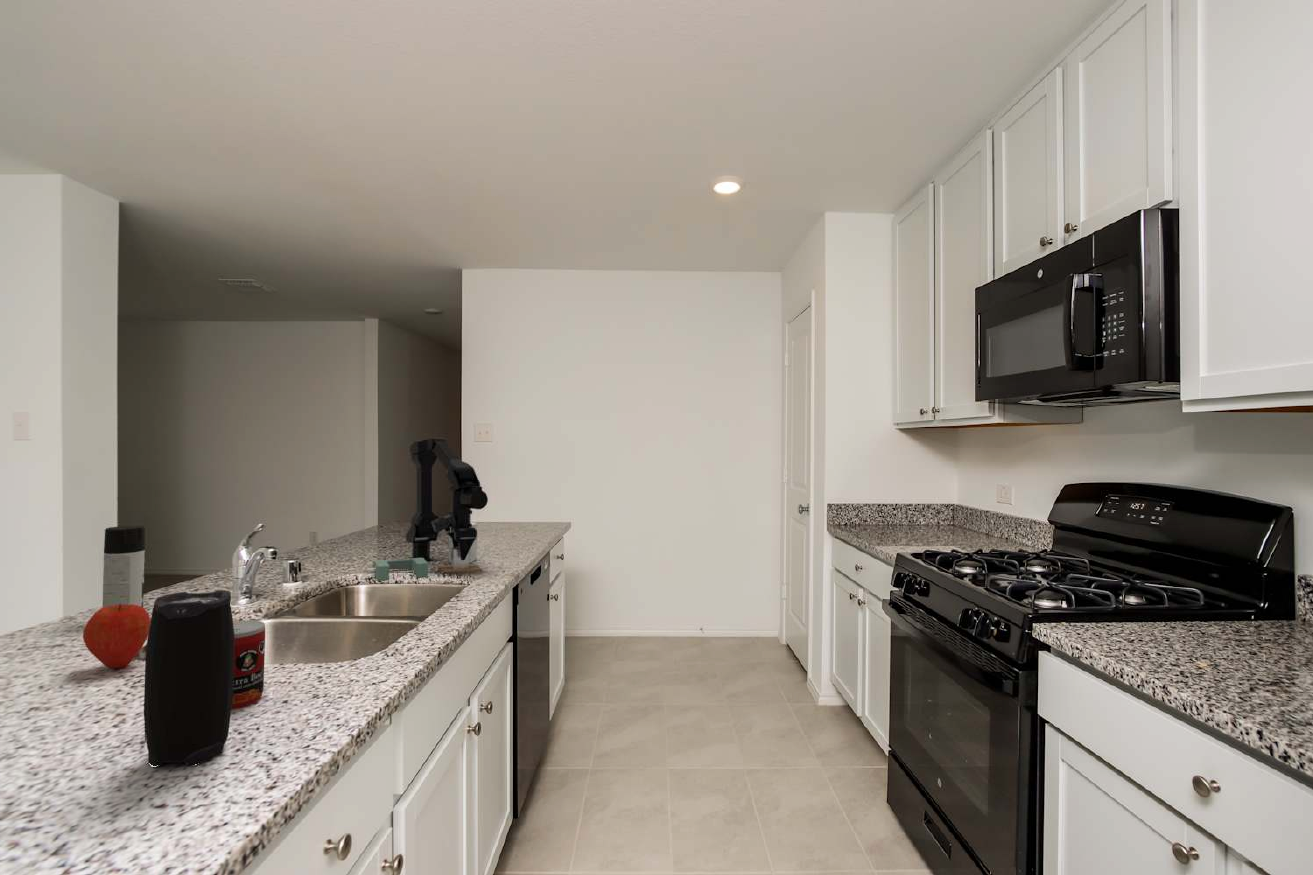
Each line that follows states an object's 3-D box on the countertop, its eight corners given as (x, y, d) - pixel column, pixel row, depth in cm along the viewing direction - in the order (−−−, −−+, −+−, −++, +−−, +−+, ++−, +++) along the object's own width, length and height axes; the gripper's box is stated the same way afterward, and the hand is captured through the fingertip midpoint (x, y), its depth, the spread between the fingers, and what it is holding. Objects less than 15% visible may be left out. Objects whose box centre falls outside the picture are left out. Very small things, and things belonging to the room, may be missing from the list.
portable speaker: (240, 733, 83) (245, 586, 84) (214, 768, 74) (220, 603, 75) (163, 741, 81) (168, 589, 81) (127, 778, 72) (133, 607, 72)
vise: (363, 571, 189) (364, 558, 189) (420, 567, 196) (420, 554, 196) (367, 581, 175) (367, 567, 175) (427, 576, 183) (428, 563, 183)
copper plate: (437, 568, 195) (438, 565, 195) (473, 566, 201) (473, 562, 201) (444, 575, 186) (444, 571, 186) (481, 572, 191) (481, 569, 191)
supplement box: (470, 563, 205) (471, 525, 205) (447, 563, 205) (448, 524, 205) (477, 559, 212) (478, 522, 212) (455, 559, 212) (456, 521, 212)
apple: (70, 678, 101) (72, 611, 101) (101, 661, 109) (103, 598, 109) (133, 674, 103) (135, 608, 103) (159, 657, 111) (161, 596, 112)
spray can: (149, 620, 134) (152, 526, 135) (111, 628, 128) (114, 530, 129) (132, 615, 137) (135, 524, 138) (94, 623, 131) (97, 527, 131)
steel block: (450, 566, 194) (451, 547, 194) (465, 565, 196) (465, 546, 196) (453, 569, 190) (453, 549, 190) (468, 567, 192) (469, 548, 192)
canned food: (217, 716, 88) (219, 637, 89) (191, 703, 93) (193, 628, 93) (274, 698, 95) (276, 625, 95) (247, 686, 99) (249, 616, 99)
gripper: (428, 504, 198) (427, 554, 198) (439, 510, 181) (437, 564, 181) (464, 503, 203) (463, 552, 203) (478, 509, 187) (476, 562, 187)
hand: (459, 557), depth 193 cm, fingers open, 9 cm apart
